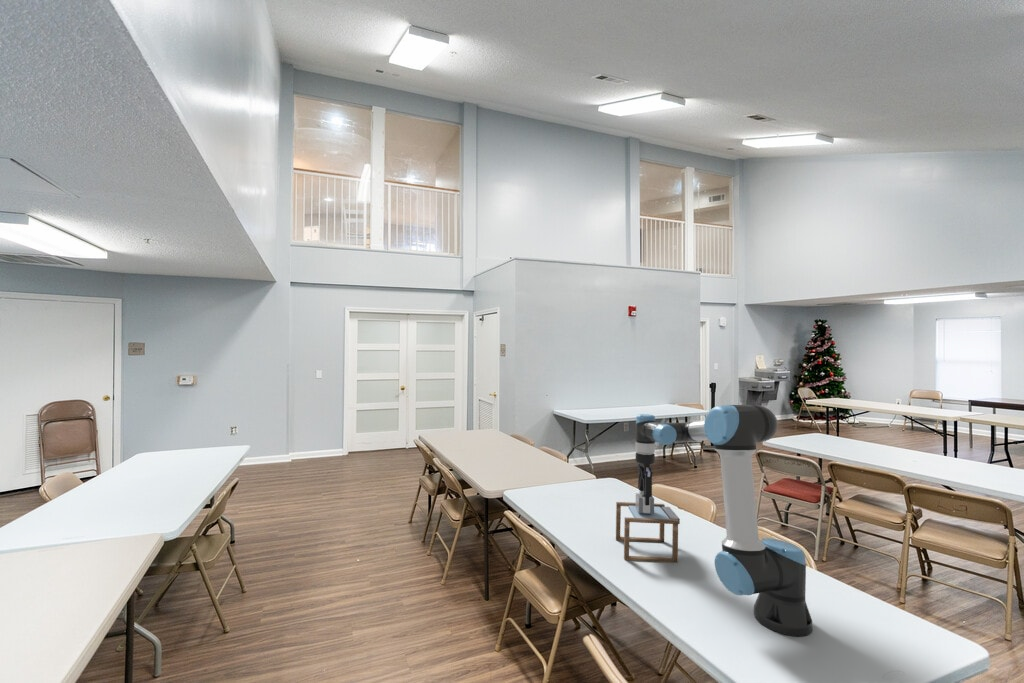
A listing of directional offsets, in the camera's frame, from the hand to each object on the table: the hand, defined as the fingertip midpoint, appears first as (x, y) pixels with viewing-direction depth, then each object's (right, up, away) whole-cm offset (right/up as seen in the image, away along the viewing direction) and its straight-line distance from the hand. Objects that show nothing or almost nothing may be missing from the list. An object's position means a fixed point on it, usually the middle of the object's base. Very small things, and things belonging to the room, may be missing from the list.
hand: (644, 509), depth 185 cm
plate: (+4, -3, 0) cm, 4 cm away
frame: (0, -16, 0) cm, 16 cm away
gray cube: (0, 0, 0) cm, 0 cm away
